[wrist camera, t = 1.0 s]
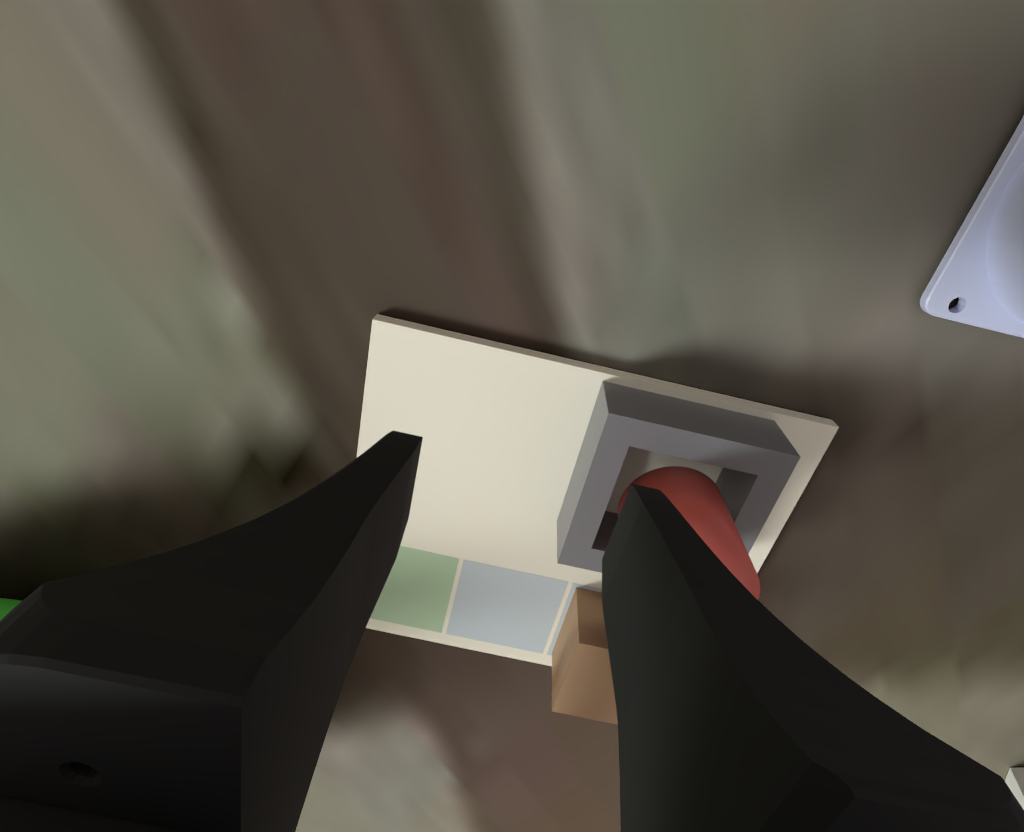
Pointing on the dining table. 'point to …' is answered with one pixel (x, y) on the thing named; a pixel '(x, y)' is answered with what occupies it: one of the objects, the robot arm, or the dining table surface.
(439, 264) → the dining table surface
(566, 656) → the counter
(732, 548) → the dome button
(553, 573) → the board
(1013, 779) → the figurine
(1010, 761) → the dining table surface
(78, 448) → the dining table surface
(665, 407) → the dome collar
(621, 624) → the robot arm
